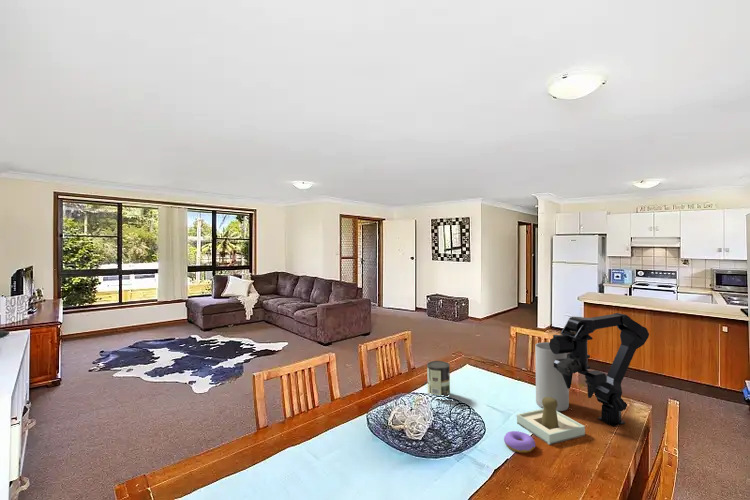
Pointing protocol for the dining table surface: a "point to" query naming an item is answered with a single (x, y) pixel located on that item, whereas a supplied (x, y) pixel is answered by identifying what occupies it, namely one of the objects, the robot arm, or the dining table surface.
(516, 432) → the donut
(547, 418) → the pepper shaker
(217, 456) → the dining table surface
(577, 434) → the square tray
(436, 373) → the coffee can
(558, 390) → the cylinder vase
